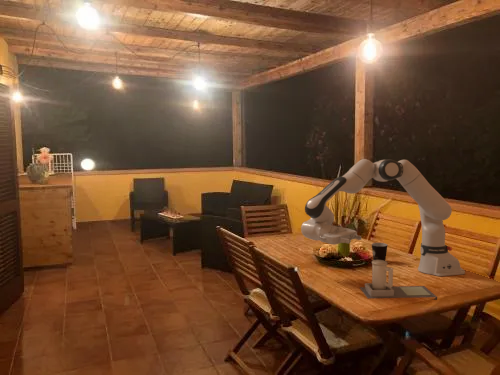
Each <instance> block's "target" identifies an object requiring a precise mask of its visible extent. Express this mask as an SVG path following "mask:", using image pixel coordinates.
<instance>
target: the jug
mask: <svg viewBox="0 0 500 375" xmlns="http://www.w3.org/2000/svg"><path fill="white" fill-rule="evenodd" d="M371 264H372V265H371V266H372V270H371V272H372V273H371V276H372V277H371V280H372V281H371V283H372V290H386V286H387V287H394V286H393V285H394V282H393V281H394V278H393V277H394V268H392V267H388V266H387V265H388V261H386V260H385V261H384V260H371ZM387 272H388V278H387ZM387 280H388V281H387Z"/></svg>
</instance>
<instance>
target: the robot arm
mask: <svg viewBox="0 0 500 375" xmlns="http://www.w3.org/2000/svg"><path fill="white" fill-rule="evenodd" d="M370 180H373V181H375V182H378V183H379V182H383V183H384V182H388V181H393V180H397V181H398V183H399V184H400V185H401V186H402V187H403V189H404V190H405V191H406V192H407V194H408V195H409V196H410V198H412V200H414V201H415V202H416V204H417V205H418V209H419V210H418V211H419V216H420V223H421V231H422V232H421V243H420V260H419V264H418V267H417V270H418V271H419V272H420V273H423V274H427V275H434V276H437V277H447V276H456V275H458V276H459V275H465V274H466V270H464V269H463V268H462V267H461V263H460V260H459V259H458V258H457V257H456V256H454V255H453V254H452V253H450V252H452V250H453V248H452V247H451V246H450V245H446V229H445V226H444V222H443V221H445V220H447V219H449V218H450V216H451V215H452V212H453V211H452V206H451V204H449V203H448V201H446V199H445V198H444V197H443V196H442V195H441V194H440V193H439V192H438V191H437V190H436V189H435V188H434V187H433V186H432V185H431V184H430V182H428V180H427V179H426V177H424V175H423V174H422V173H421V172H420V171H419V170H418V168H417V167H416V166H415V165H414V164H413V163H411V162H410V161H409V160H408V159H401V160H398V161H396V160H394V159H391V158H388V159H381V160H380V159H379V160H378V161H374V162H372V161H371V160H369V159H368V158H362V159H360V160H358V161H357V162H356V163H355V164H353V166H352V167H350V168H349V170H348V171H347V172H345V173H344V174H343V175H342V176H341V175H340V176H337V177H336V178H334V179H333V180H332V181H331V182H330V183H329V184H327V185H326V186H325V187H323V189H322V190H321V191H319V192H318V193H317V194H316V195H315V196H312V197H311V198H310V199H308V201H307V200H306V201H307V202H306V203H305V205H304V212H305V214H306V215H307V216H308V217H310V218H309V219H308V220H305V221H304V222H302V224H301V226H300V231H301V235H303V236H304V237H305V238H307V239H309V240H312V241H320V242H322V243H325V244H329V245H333V246H334V245H338V244H351V243H352V242H351V241H352V240H357V241H360V240H361V241H362V236H361V235H358V232H357V230H354V229H352V228H347V227H343V226H342V225H333V223H334V221H335V214H334V213H333V211H332V210H331V209H330V208H329V207H328V206H327V204H328V202H329V200H331V199H332V198H333V197H334V196H335V195H336V194H337V193H340V192H345V193H346V194H357V193H359V192H360V191H361V190H362V189H364V188H365V186H366V184H367V183H369V181H370ZM449 251H450V252H449Z"/></svg>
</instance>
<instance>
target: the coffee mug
mask: <svg viewBox="0 0 500 375" xmlns="http://www.w3.org/2000/svg"><path fill="white" fill-rule="evenodd" d="M371 249H372V250H371V251H372V259H373V260H384V261H386V260H387V251H388V244H387V243H384V242H372V243H371ZM373 260H372V261H373Z"/></svg>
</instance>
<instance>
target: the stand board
mask: <svg viewBox="0 0 500 375" xmlns="http://www.w3.org/2000/svg"><path fill="white" fill-rule="evenodd" d="M359 289H360V290H361V291H362V293H363V294H364V295H365V297H366V298H367V299H404V298H405V299H410V298H419V299H420V298H433V299H432V300H433V301H435V300H438V296H436V294H434V292H432V291H431V290H429V289H428V288H427V287H426V286H425V285H415V286H413V285H411V286H410V285H407V286H401V285H400V286H393V287H387V286H386V290H372V282H371V283H369V282H367V283H364V286H359Z"/></svg>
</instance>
